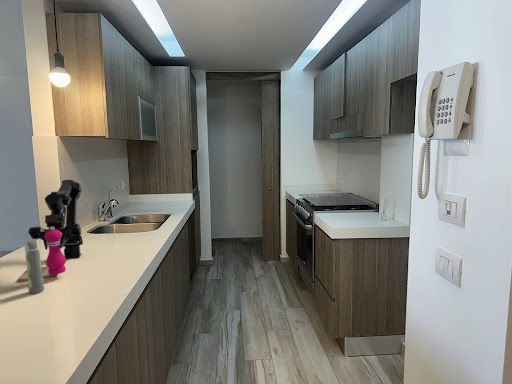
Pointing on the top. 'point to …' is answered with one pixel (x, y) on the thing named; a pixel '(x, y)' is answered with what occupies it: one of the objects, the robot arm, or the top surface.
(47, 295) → the top surface
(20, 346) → the top surface
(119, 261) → the top surface
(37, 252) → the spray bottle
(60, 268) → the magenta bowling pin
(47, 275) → the taupe cutting board
